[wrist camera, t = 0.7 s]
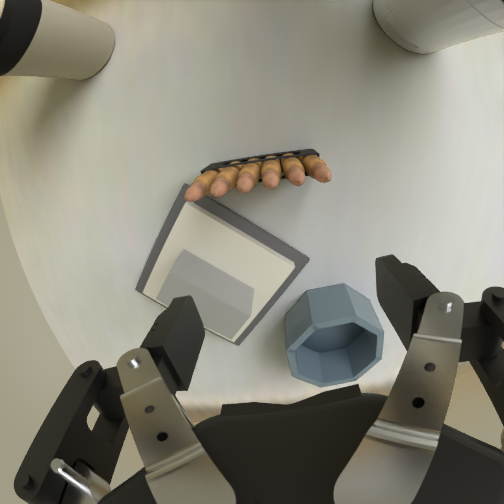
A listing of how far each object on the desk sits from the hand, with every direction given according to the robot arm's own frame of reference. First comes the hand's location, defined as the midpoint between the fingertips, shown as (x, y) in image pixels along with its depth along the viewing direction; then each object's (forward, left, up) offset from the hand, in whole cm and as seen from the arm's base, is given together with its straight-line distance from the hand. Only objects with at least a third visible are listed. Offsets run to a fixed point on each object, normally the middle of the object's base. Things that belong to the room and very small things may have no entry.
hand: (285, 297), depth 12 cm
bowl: (+10, +15, -19) cm, 26 cm away
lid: (+12, -1, -18) cm, 22 cm away
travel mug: (-5, -29, -19) cm, 35 cm away
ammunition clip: (-2, -3, -19) cm, 19 cm away
